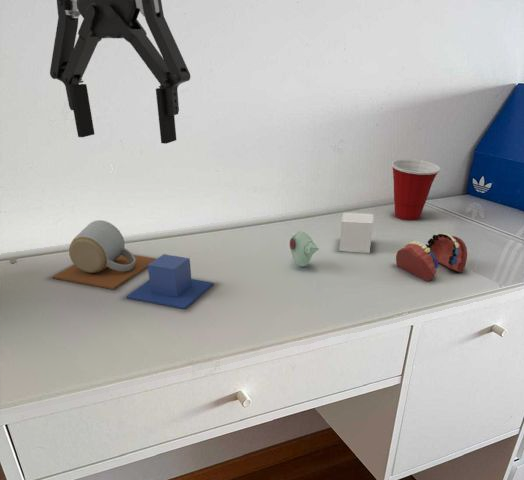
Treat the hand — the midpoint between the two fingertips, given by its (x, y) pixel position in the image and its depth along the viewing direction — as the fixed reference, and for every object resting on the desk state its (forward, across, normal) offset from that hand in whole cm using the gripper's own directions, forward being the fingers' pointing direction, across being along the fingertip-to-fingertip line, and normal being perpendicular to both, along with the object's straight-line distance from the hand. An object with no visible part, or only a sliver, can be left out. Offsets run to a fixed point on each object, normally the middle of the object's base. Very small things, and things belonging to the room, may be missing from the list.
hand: (126, 139), depth 72 cm
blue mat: (+25, -2, -4) cm, 25 cm away
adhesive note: (+25, -26, -36) cm, 51 cm away
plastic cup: (+25, -33, -60) cm, 73 cm away
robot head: (+25, -19, -22) cm, 38 cm away
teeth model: (+25, -41, -30) cm, 57 cm away
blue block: (+24, -2, -4) cm, 25 cm away
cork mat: (+25, +14, -8) cm, 29 cm away
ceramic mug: (+24, +14, -8) cm, 29 cm away
